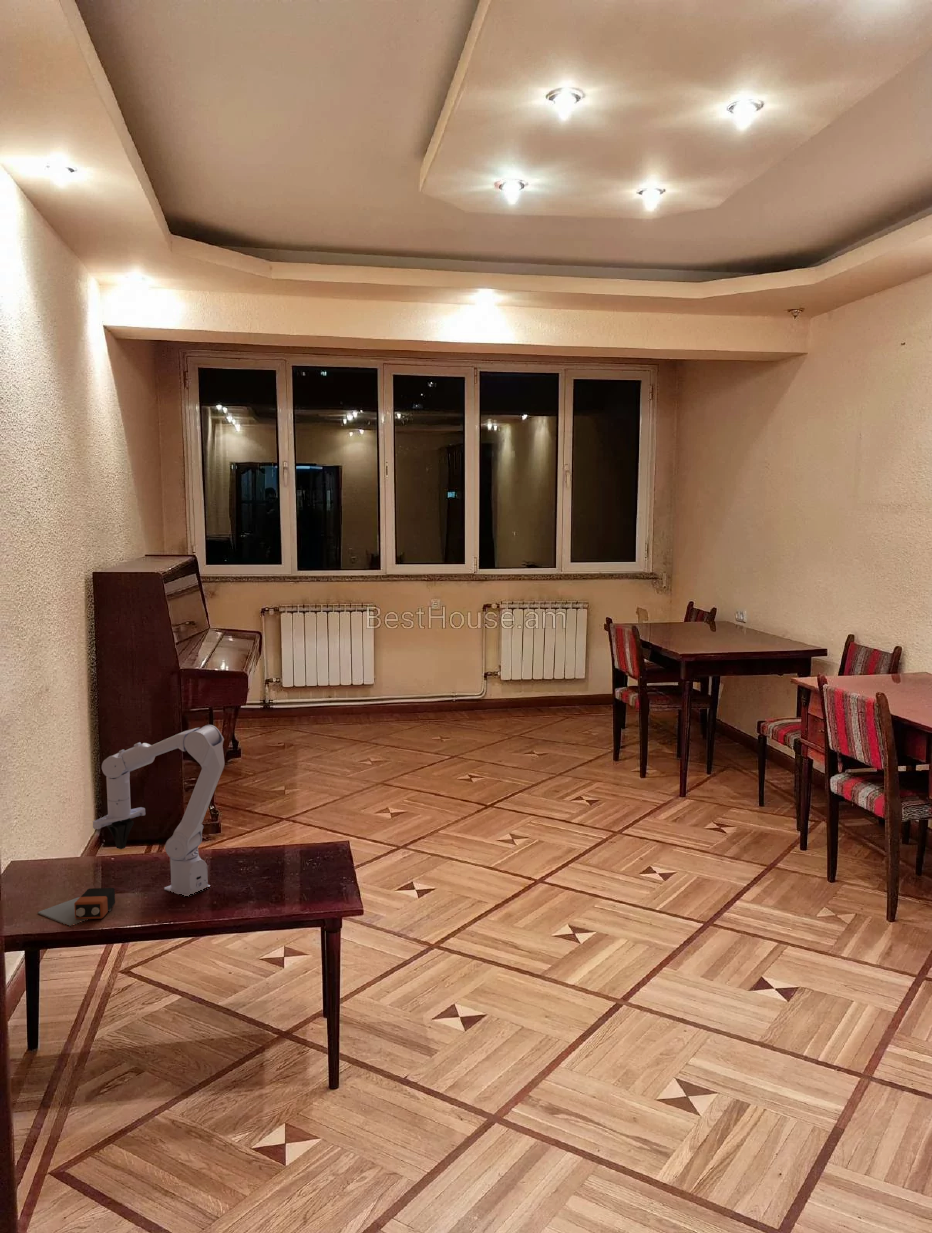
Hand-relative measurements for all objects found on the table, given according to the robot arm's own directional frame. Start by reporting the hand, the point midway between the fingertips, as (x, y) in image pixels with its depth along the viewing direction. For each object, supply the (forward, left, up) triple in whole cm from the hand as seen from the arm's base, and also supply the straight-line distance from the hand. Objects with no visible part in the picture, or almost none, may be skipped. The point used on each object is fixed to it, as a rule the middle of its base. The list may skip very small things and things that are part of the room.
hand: (120, 847), depth 232 cm
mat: (-5, +17, -10) cm, 21 cm away
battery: (-7, +11, -8) cm, 15 cm away
